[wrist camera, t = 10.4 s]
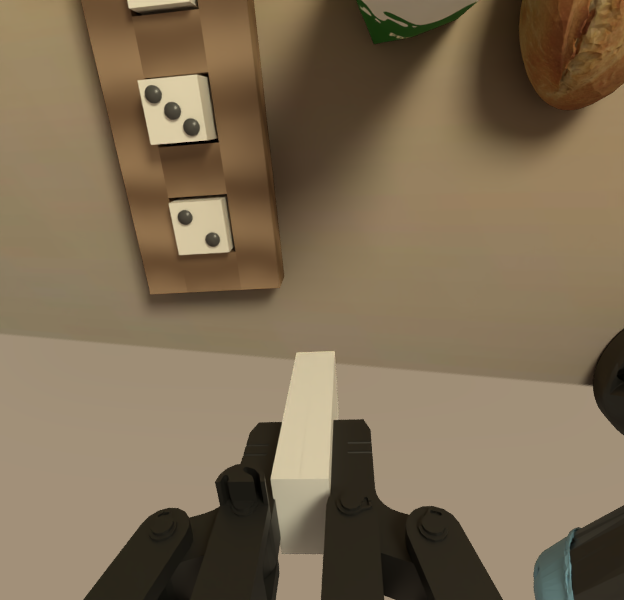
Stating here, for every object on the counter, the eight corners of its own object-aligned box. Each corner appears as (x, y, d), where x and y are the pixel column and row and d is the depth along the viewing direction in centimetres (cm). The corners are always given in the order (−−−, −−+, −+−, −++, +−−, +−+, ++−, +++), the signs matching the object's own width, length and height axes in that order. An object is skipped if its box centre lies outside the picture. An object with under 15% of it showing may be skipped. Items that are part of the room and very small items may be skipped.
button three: (219, 137, 36) (206, 140, 33) (168, 142, 37) (149, 145, 33) (210, 78, 35) (195, 74, 31) (156, 83, 35) (136, 80, 32)
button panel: (284, 276, 42) (279, 287, 39) (162, 282, 43) (150, 294, 40) (239, -131, 31) (228, -155, 28) (76, -108, 32) (50, -129, 29)
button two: (238, 241, 41) (228, 252, 37) (192, 244, 41) (178, 255, 38) (231, 192, 39) (220, 200, 36) (183, 196, 39) (167, 204, 36)
